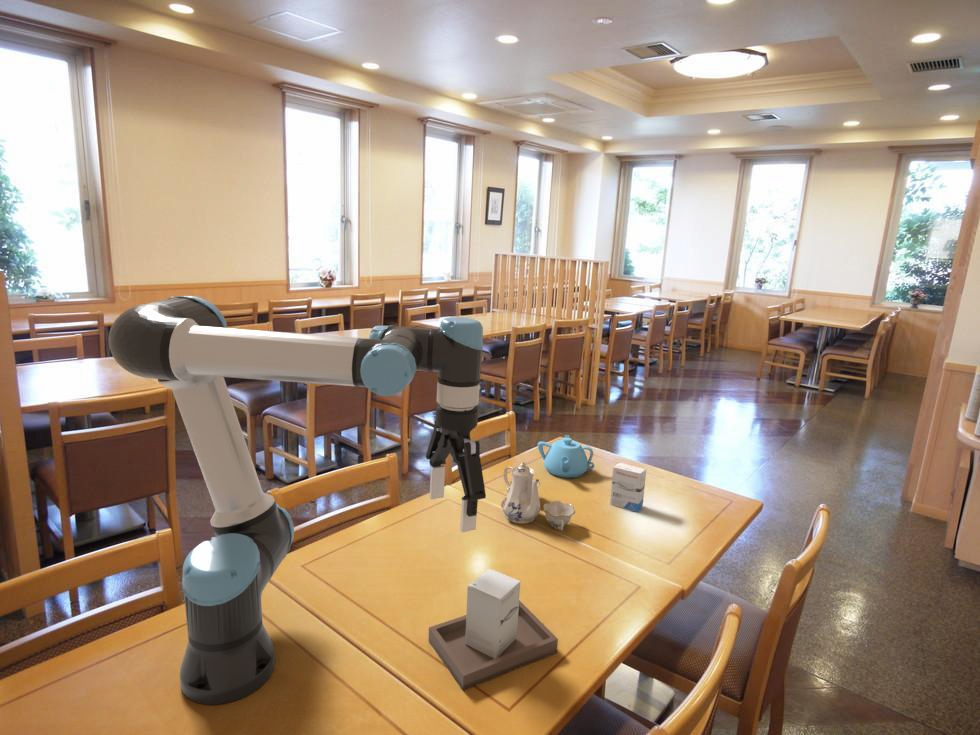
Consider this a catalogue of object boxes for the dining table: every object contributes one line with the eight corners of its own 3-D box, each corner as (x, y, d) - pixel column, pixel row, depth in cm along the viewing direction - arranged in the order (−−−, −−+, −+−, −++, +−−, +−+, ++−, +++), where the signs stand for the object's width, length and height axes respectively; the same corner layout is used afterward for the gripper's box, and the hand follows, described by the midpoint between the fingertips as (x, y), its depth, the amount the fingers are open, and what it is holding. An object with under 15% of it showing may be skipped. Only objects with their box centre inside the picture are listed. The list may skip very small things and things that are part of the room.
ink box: (643, 506, 172) (647, 468, 169) (637, 512, 168) (641, 474, 165) (615, 498, 176) (619, 461, 173) (609, 504, 172) (612, 466, 169)
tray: (462, 690, 101) (463, 675, 100) (428, 641, 113) (428, 627, 112) (556, 652, 111) (557, 638, 110) (516, 610, 123) (517, 597, 122)
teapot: (529, 468, 195) (531, 436, 192) (565, 457, 206) (567, 427, 203) (563, 485, 184) (566, 451, 181) (599, 472, 194) (602, 440, 192)
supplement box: (496, 661, 107) (499, 600, 104) (463, 644, 111) (466, 584, 108) (518, 639, 113) (521, 580, 110) (486, 623, 117) (489, 566, 114)
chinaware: (584, 535, 158) (593, 476, 155) (535, 545, 148) (544, 483, 145) (521, 494, 180) (529, 442, 177) (476, 501, 171) (483, 446, 168)
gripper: (511, 424, 97) (502, 541, 102) (447, 385, 118) (442, 483, 123) (470, 429, 93) (463, 550, 98) (411, 387, 114) (408, 488, 119)
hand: (451, 513), depth 110 cm, fingers open, 13 cm apart
